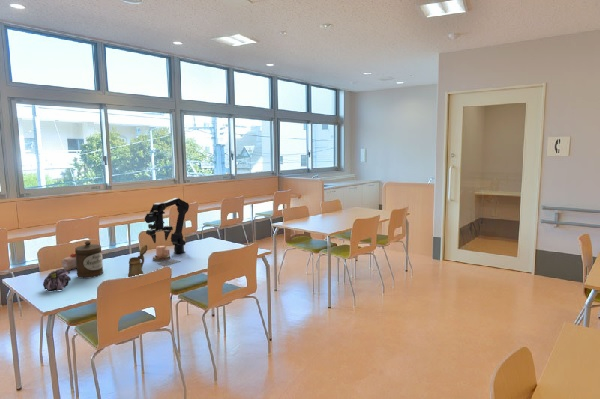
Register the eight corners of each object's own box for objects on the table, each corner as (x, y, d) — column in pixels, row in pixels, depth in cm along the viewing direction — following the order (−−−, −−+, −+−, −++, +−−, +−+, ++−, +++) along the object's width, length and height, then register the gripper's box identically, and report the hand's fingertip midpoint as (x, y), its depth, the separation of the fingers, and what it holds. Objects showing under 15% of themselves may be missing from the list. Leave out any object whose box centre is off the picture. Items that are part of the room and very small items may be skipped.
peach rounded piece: (154, 259, 291) (154, 247, 290) (162, 257, 297) (162, 245, 295) (164, 261, 284) (163, 249, 283) (172, 259, 290) (172, 247, 288)
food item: (66, 271, 264) (64, 257, 263) (61, 269, 269) (60, 255, 268) (87, 266, 274) (86, 252, 273) (83, 264, 280) (82, 251, 278)
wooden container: (89, 279, 248) (86, 244, 245) (71, 276, 253) (68, 242, 250) (108, 272, 262) (105, 239, 259) (91, 270, 267) (88, 237, 264)
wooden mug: (152, 272, 259) (150, 245, 257) (132, 278, 249) (131, 250, 246) (144, 270, 265) (143, 243, 262) (125, 275, 254) (123, 248, 252)
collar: (163, 255, 300) (163, 253, 300) (173, 258, 293) (173, 255, 293) (149, 259, 291) (149, 256, 290) (159, 262, 284) (159, 259, 283)
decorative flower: (33, 276, 225) (56, 261, 237) (36, 291, 230) (59, 276, 243) (53, 285, 221) (75, 270, 234) (56, 300, 227) (78, 285, 239)
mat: (172, 259, 290) (172, 259, 290) (180, 261, 284) (180, 261, 284) (157, 263, 279) (157, 263, 279) (165, 266, 274) (165, 265, 274)
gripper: (163, 217, 300) (164, 237, 302) (140, 221, 285) (142, 242, 287) (172, 218, 294) (173, 239, 296) (149, 223, 279) (151, 245, 281)
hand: (160, 241), depth 290 cm, fingers open, 9 cm apart
